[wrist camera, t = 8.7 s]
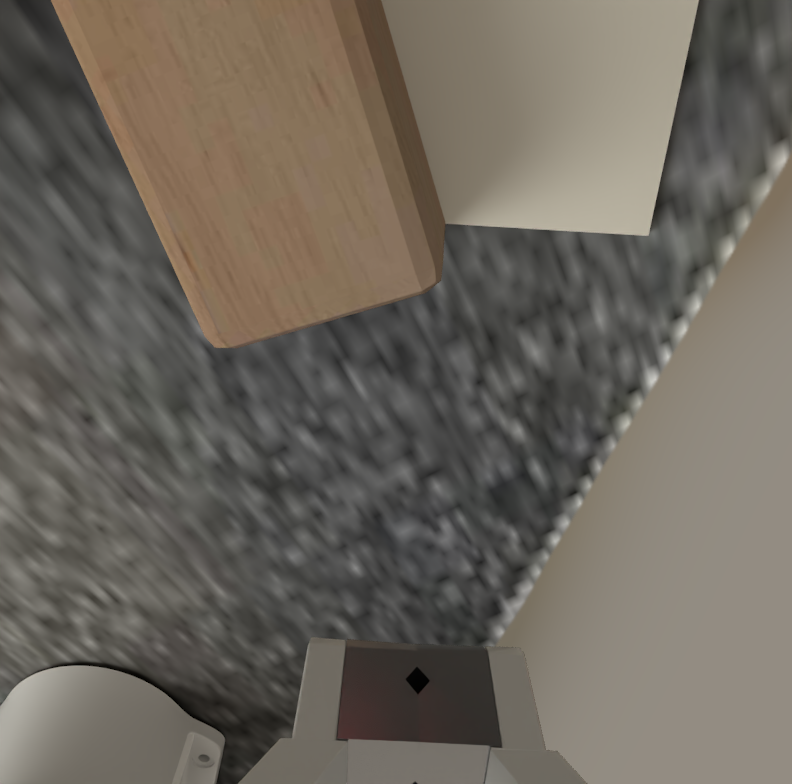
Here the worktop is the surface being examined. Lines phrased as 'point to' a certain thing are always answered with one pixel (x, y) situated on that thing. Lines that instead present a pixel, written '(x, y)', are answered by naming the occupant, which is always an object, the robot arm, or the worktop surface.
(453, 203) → the mat
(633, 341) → the worktop surface
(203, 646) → the worktop surface
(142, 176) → the block
